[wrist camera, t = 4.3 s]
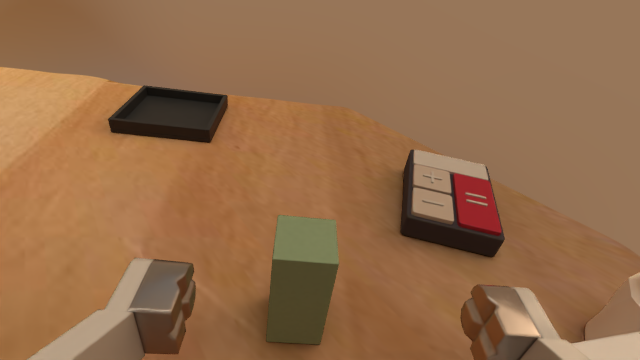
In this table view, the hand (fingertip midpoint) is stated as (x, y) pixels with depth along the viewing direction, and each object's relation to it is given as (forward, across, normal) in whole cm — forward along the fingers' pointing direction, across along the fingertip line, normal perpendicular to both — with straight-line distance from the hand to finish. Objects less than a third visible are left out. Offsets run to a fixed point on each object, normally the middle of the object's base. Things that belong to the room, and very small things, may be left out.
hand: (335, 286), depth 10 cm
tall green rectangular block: (+12, 0, +20) cm, 23 cm away
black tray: (+47, +21, +20) cm, 55 cm away
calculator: (+30, -19, +20) cm, 41 cm away
